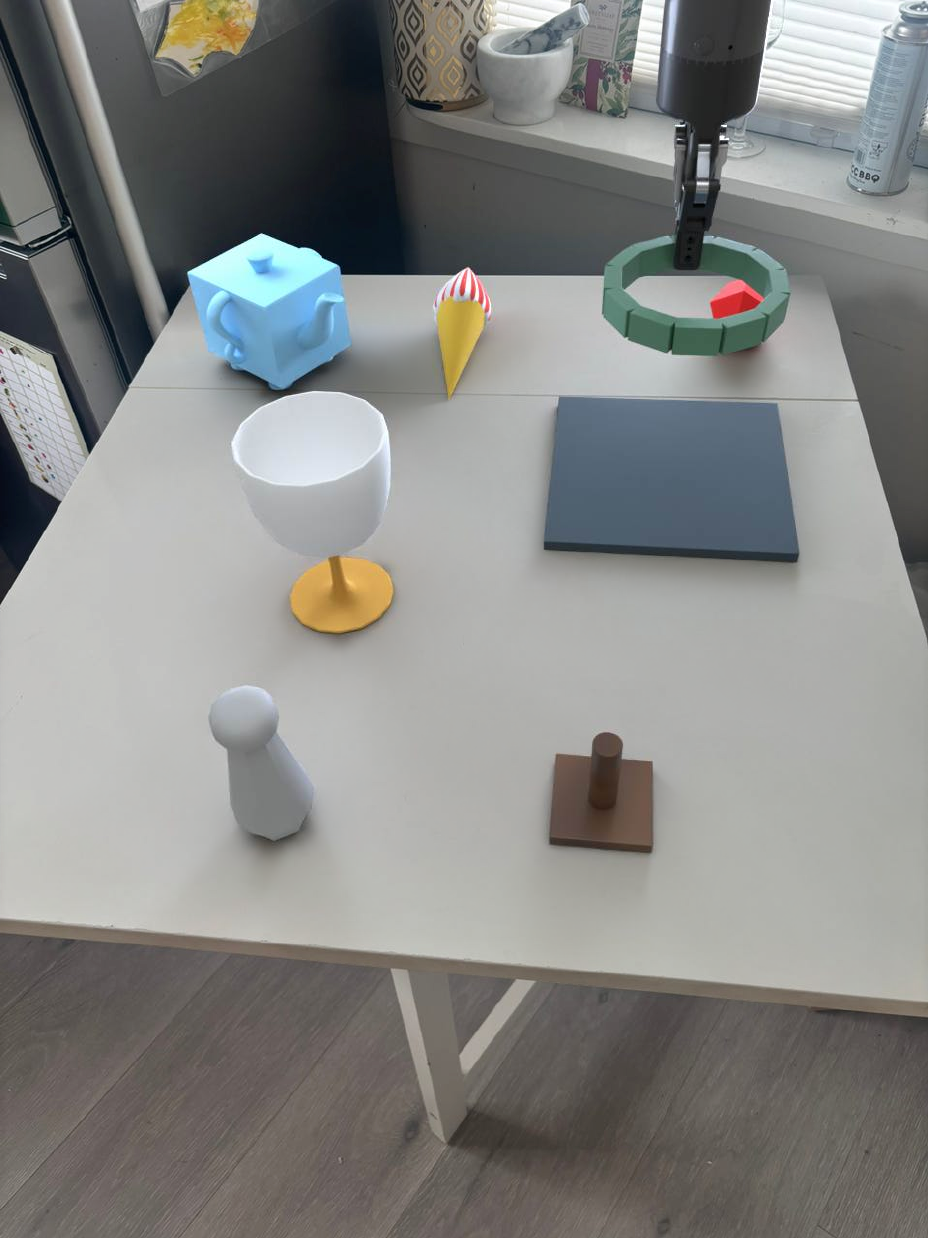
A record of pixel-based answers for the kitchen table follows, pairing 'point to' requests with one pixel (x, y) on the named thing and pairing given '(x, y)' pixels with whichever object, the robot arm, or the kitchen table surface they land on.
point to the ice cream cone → (460, 322)
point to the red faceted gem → (734, 300)
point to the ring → (695, 332)
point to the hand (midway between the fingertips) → (685, 261)
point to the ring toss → (603, 799)
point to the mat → (670, 479)
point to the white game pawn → (260, 764)
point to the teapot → (271, 309)
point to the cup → (321, 499)
